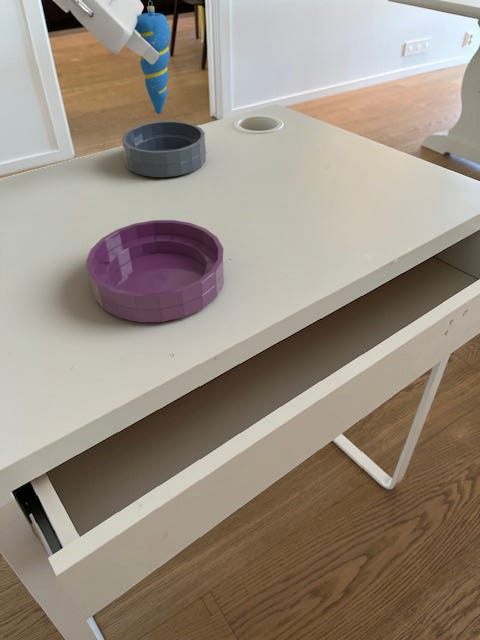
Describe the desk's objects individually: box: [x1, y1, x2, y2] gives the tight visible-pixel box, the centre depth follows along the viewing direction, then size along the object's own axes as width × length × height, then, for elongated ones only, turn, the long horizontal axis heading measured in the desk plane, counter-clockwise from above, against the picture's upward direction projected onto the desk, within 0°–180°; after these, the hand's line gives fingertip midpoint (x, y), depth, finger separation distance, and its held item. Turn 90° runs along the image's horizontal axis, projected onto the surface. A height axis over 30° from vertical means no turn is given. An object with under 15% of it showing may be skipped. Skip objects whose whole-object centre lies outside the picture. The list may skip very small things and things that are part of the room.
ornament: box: [135, 0, 171, 115], centre depth 75 cm, size 5×5×15 cm
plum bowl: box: [85, 219, 225, 323], centre depth 59 cm, size 15×15×4 cm
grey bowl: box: [121, 120, 207, 178], centre depth 84 cm, size 13×13×4 cm
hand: (158, 54), depth 74 cm, fingers closed on ornament, 5 cm apart
